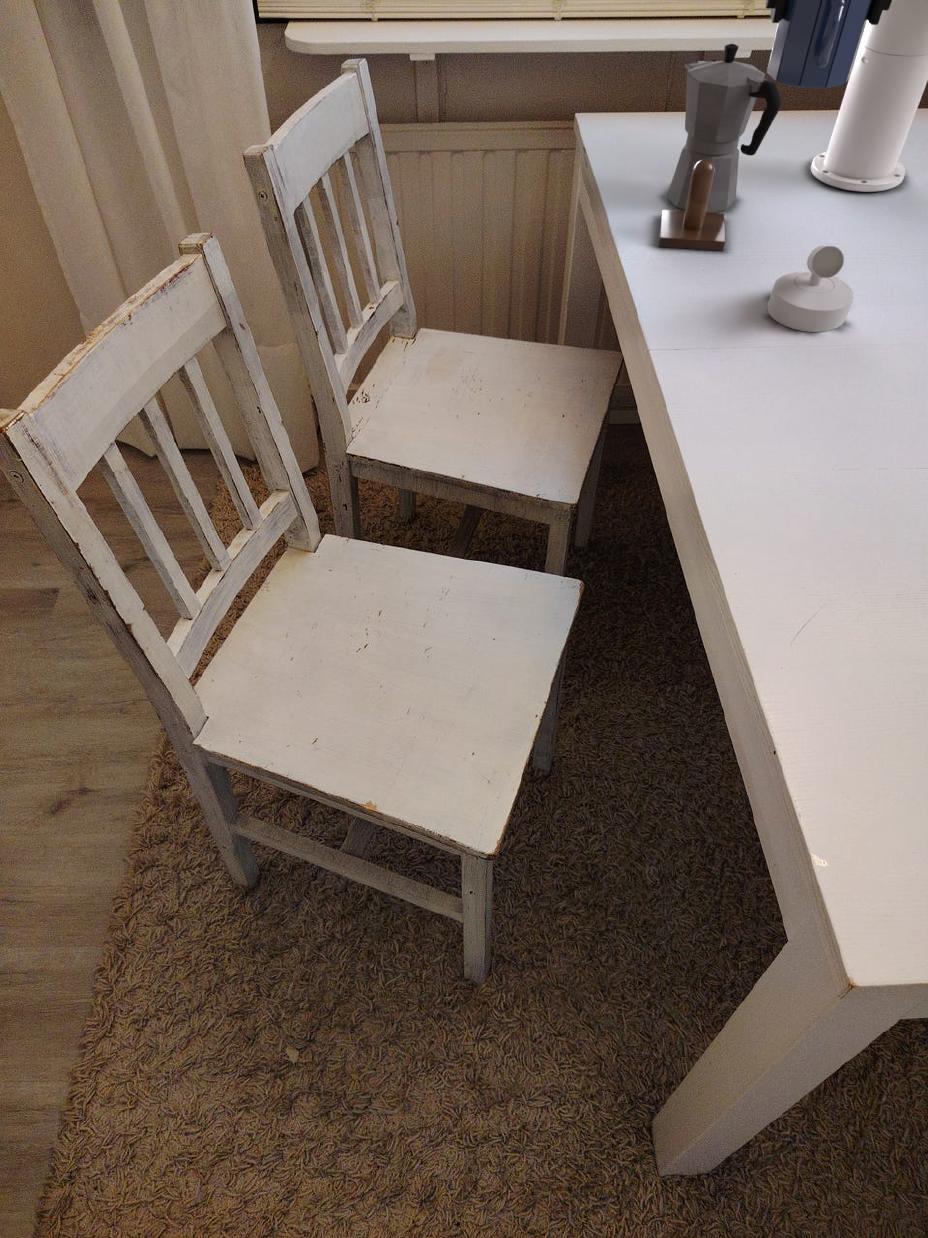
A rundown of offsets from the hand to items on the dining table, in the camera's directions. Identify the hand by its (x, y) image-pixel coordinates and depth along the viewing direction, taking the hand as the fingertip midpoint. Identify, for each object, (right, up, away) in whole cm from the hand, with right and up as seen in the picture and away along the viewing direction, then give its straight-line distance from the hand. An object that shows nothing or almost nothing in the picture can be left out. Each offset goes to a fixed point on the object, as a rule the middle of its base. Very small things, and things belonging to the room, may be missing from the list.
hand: (823, 17), depth 71 cm
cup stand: (-2, -3, +33) cm, 33 cm away
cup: (0, -3, +3) cm, 4 cm away
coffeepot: (+1, +4, +39) cm, 39 cm away
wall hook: (+7, -19, +20) cm, 28 cm away
